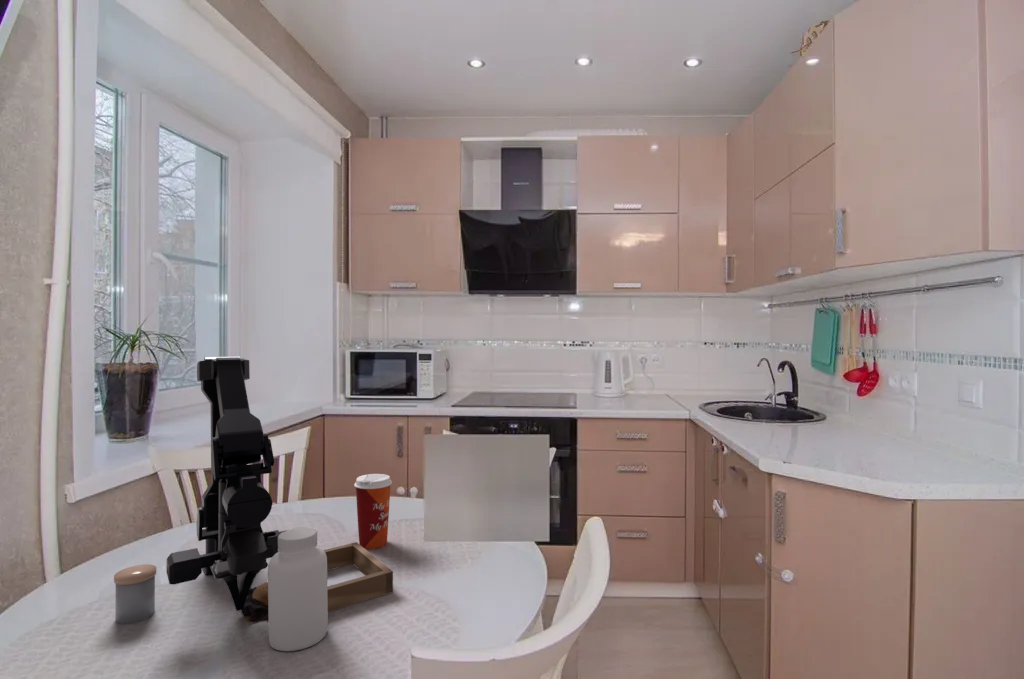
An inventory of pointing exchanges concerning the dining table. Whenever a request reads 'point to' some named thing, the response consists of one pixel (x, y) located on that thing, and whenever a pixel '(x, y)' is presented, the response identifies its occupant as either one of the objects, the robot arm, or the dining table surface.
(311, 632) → the pill bottle
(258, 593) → the bread roll
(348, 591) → the tray
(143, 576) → the grey sugar pot
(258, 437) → the robot arm
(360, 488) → the paper cup
